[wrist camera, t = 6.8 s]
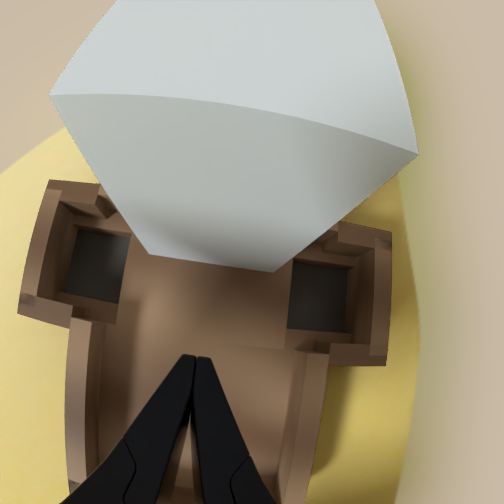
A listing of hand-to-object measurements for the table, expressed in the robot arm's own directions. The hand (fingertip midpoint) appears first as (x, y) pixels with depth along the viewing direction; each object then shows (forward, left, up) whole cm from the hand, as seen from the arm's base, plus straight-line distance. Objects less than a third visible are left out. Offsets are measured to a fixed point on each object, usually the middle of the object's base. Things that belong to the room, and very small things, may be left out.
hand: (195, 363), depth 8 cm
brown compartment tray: (0, -1, -6) cm, 7 cm away
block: (+1, -7, -5) cm, 9 cm away
